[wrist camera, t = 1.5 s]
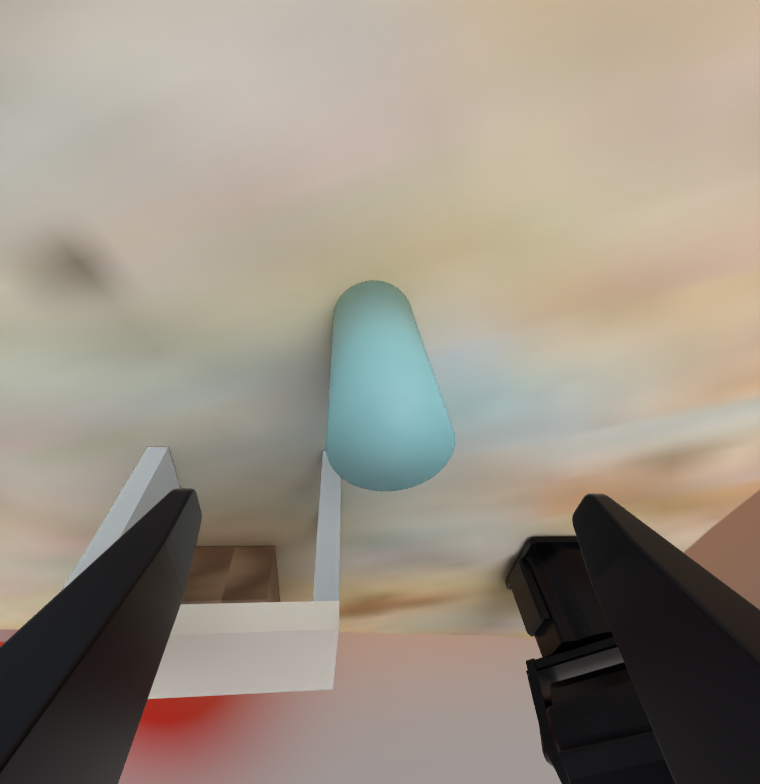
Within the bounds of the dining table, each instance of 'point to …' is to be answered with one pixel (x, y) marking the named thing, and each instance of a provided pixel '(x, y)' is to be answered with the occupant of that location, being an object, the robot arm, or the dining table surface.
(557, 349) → the dining table surface
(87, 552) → the small white footstool
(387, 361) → the peg
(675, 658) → the robot arm
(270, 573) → the socket
